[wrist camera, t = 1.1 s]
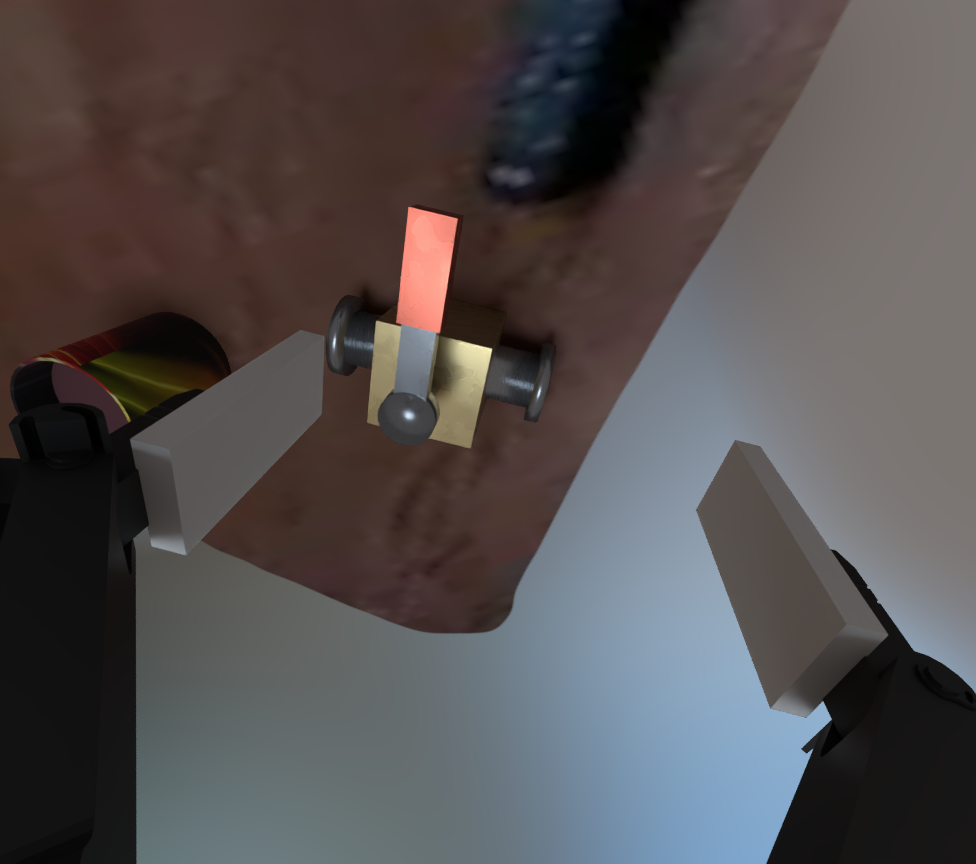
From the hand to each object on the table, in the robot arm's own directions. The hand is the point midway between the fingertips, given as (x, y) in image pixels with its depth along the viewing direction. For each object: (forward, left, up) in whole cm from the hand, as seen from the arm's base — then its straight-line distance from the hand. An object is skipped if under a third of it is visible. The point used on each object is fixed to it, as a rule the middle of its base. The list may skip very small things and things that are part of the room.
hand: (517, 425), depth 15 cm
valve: (+8, -6, -26) cm, 28 cm away
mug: (+18, -32, -27) cm, 46 cm away
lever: (+3, -6, -17) cm, 18 cm away
